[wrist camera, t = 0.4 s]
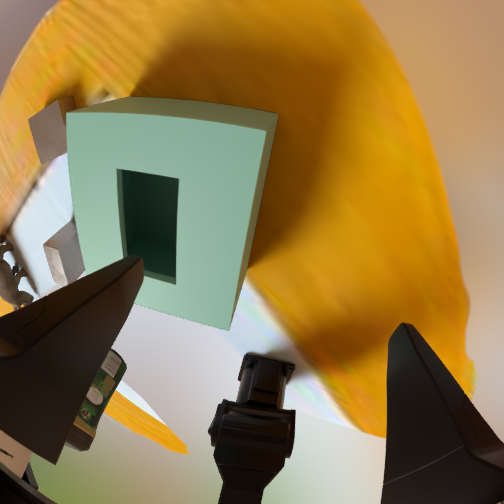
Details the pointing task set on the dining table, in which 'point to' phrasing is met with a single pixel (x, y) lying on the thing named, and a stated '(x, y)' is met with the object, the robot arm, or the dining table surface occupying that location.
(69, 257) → the block
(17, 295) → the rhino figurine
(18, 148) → the dining table surface
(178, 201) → the teal box
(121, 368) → the coffee jar
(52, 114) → the block
